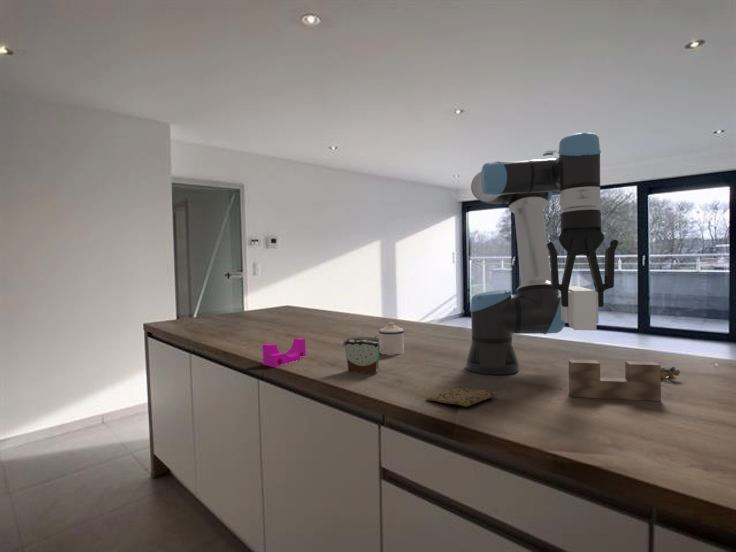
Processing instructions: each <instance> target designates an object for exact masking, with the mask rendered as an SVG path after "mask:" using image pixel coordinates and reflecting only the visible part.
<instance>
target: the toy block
mask: <svg viewBox="0 0 736 552" xmlns="http://www.w3.org/2000/svg"><path fill="white" fill-rule="evenodd" d="M306 350H307V349H306V339H305V338H302V337H301V338H300V337H297V338H293V342H292V344H291V347H290V349H289V350H288V351H287V352H283V353H282V352H280V351H279V348H278V345H277V344H276V343H264V344H262V365H263V366H268V367H271V368H278V367H277V366H279V365H281V364H285V363H289V362H292V361H296V360H300V361H301V359H300V356H306V355H307V354H306ZM279 367H280V366H279Z"/></svg>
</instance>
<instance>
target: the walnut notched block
mask: <svg viewBox="0 0 736 552" xmlns="http://www.w3.org/2000/svg"><path fill="white" fill-rule="evenodd" d="M624 364H625V366H624V370H625V377H624V378H623V377H622V378H621V377H601V363H600V362H599V361H598V360H597V359H596V360H593V359H592V360H590V359H568V389H569V390H568V391H569V392H568V393H569V395H570V396H571V398H587V399H588V398H590V399H593V398H594V399H606V400H607V399H610V400H612V399H613V400H629V401H646V402H647V401H648V402H649V401H650V402H661V401H662V393H661V392H662V388H661V387H662V385H661V384H662V382H661V368H660V367H661V364H659V363H657V362H655V361H632V360H631V361H628V360H625V361H624Z"/></svg>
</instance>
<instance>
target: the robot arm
mask: <svg viewBox="0 0 736 552" xmlns="http://www.w3.org/2000/svg"><path fill="white" fill-rule="evenodd" d="M601 151H602V150H601V147H600V138H599V136H598V134H596V133H592V132H579V133H573V134H570V135H567V136H565V137H563V138H562V139H560V141H559V145H558V152H557V154H558V157H557V158H541V159H540V158H539V159H528V160H527V159H526V160H509V161H494V162H486V163H484V164H483V165H482V167H481V171H480V172H478V173H477V174H475V176H474V177H473V178H472V181H471V185H470V188H471V193H472V195H473V196H474V197H475V198H476V199H477V200H478V201H480V202H483V203H486V204H491V205H492V204H493V205H508V210H509V212H511V213H513V215H514V221H515V222H514V223H515V233H516V244H517V255H518V264H519V265H518V267H519V276H520V285H519V286H518V287H517V288H516V290H515V291H516V292H515V293H516V294H513V293H512V291H511V289H499V290H498V289H497V290H491V291H486V292H485V291H484V292H480V293H476V294H474V295H472V297H471V299H470V300H471V301H470V315H471V318H470V319H471V328H470V329H471V345H470V347H469V351H468V353H467V357H466V361H465V362H466V363H465V365H466V369H467V370H468V371H470V372H472V373H476V374H483V375H493V376H494V375H495V376H496V375H497V376H498V375H499V376H500V375H501V376H502V375H511V374H515V373H518V372H519V371H520V361H519V358H518V356H517V353H516V351H515V347H514V345H513V335H514V334H515V335H516V334H517V335H519V334H521V335H523V334H524V335H525V334H532V335H533V334H540V335H541V334H543V335H547V334H558V333H559V332H561V331H562V330H563V329H564V327H565V325H566V323H565V322H564V321H563V320H562V319H561V305H562V306H563V307H567V322H568V324H569V323H573V305H572V292H570V291H568V290H569V286H571V280H572V275H573V269H574V265H575V261H576V258H577V256H580V255H582V256H585V258H586V259H587V263H588V267H589V270H590V275H591V279H592V282H593V287H594V290H595V291H596V325H598V324H599V322H600V321H599V308H603V307H604V304H605V303H604V300H605V299H604V298H605V297H604V296H605V295H604V294H605V293H604V292H605V291H606V290H609V289H612V288H614V286H615V261H616V260H615V258H616V257H615V255H616V250H617V247H618V245H619V240H617V239H611V238H608V237H605V234H604V233H603V231H602V211H601V210H599V208H601V203H602V201H601V199H602V198H601ZM553 194H554V195H559V198H560V199H559V208H560V210H561V212H562V213H561V214H560V215H559V217H560V234H559V236H558V239H556V240H554V241H551V242H548V241H547V240H548V239H547V232H546V231H547V230H546V223H545V214H544V210H545V209H546V208H547V206H548V202H550V201H551V200H552V197H553ZM602 244H603V248H604V249H605V251H604V277H603V279H604V280H603V279H602V275H601V271H600V270H601V269H600V267H599V262H598V259H597V253H596V251H597V249H598V248H599V247H600V245H602ZM560 246H561V247H562V248H563V249H564V251H566V257H565V265H564V269H563V274H562V279H561V284H560V279H559V278H560V277H559V276H560V275H559V261H558V252H557V251H559V249H560ZM559 291H560V292H559Z"/></svg>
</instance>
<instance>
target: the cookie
mask: <svg viewBox="0 0 736 552" xmlns="http://www.w3.org/2000/svg"><path fill="white" fill-rule="evenodd" d="M495 396H498V393H497V392H496V391H493V390H488V389H481V390H480V389H471V388H467V387H456V388H453V389H449V390H447V391H444V392H441V393H437V394H435V395H432V396H429V397H426V398H425V400H426V401H433V402H438V403H442V404H443V403H444V404H452V405H459V406H462V407H466V408H467V407H469V406H473V405H475V404H477V403H481V402H483V401H485V400H487V399H490V398H492V397H495Z"/></svg>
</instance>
